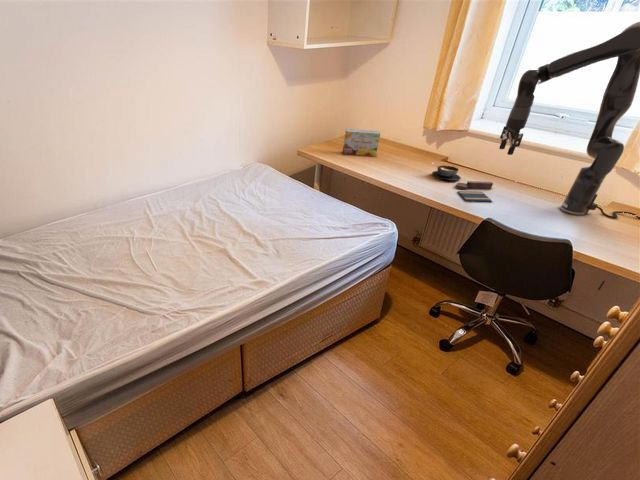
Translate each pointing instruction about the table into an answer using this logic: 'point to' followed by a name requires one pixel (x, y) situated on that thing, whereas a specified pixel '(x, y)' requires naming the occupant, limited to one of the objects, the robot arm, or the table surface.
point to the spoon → (474, 185)
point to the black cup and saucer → (446, 173)
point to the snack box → (361, 142)
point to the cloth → (474, 196)
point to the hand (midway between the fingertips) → (505, 151)
